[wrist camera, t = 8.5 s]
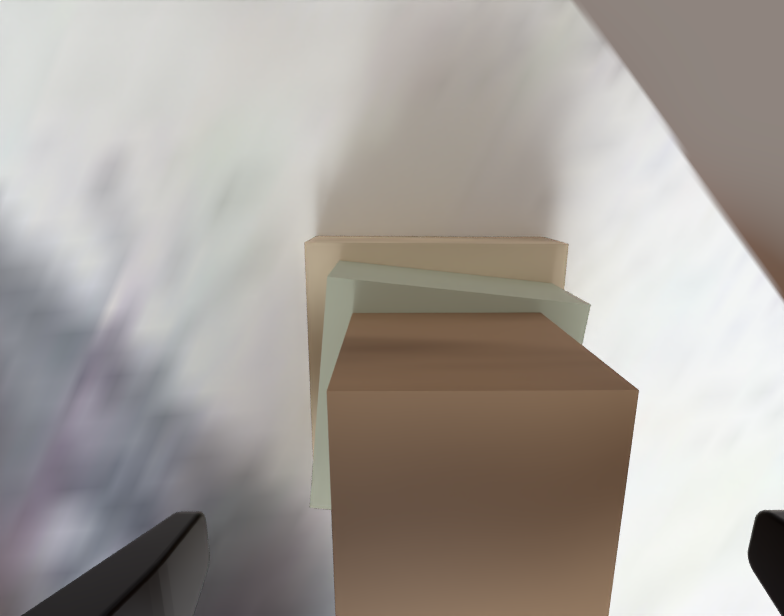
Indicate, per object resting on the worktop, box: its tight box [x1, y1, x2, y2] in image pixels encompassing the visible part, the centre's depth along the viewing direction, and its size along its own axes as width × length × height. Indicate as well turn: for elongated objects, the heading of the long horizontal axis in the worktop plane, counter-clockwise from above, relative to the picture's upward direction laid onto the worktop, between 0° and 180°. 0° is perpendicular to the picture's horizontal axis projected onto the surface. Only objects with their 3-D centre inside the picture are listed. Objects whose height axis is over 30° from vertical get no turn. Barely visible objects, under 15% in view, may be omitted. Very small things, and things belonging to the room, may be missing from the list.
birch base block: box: [304, 236, 568, 456], centre depth 17 cm, size 8×8×3 cm
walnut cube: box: [327, 312, 639, 616], centre depth 10 cm, size 5×5×5 cm
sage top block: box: [310, 260, 591, 510], centre depth 14 cm, size 7×7×3 cm
